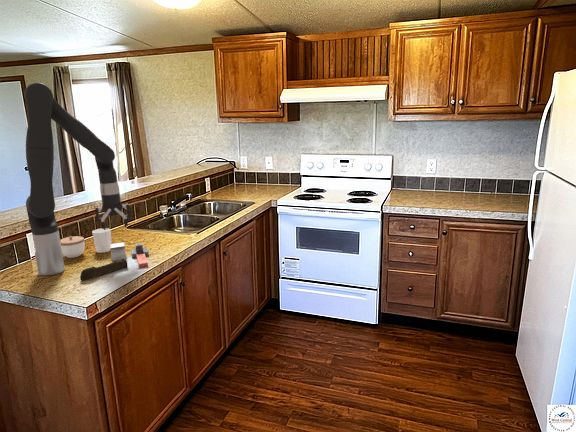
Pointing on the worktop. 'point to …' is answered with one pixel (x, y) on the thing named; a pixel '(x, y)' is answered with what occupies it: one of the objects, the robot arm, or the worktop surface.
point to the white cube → (118, 251)
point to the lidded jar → (72, 246)
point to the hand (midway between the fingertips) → (115, 228)
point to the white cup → (102, 240)
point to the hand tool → (102, 269)
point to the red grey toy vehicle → (140, 255)
